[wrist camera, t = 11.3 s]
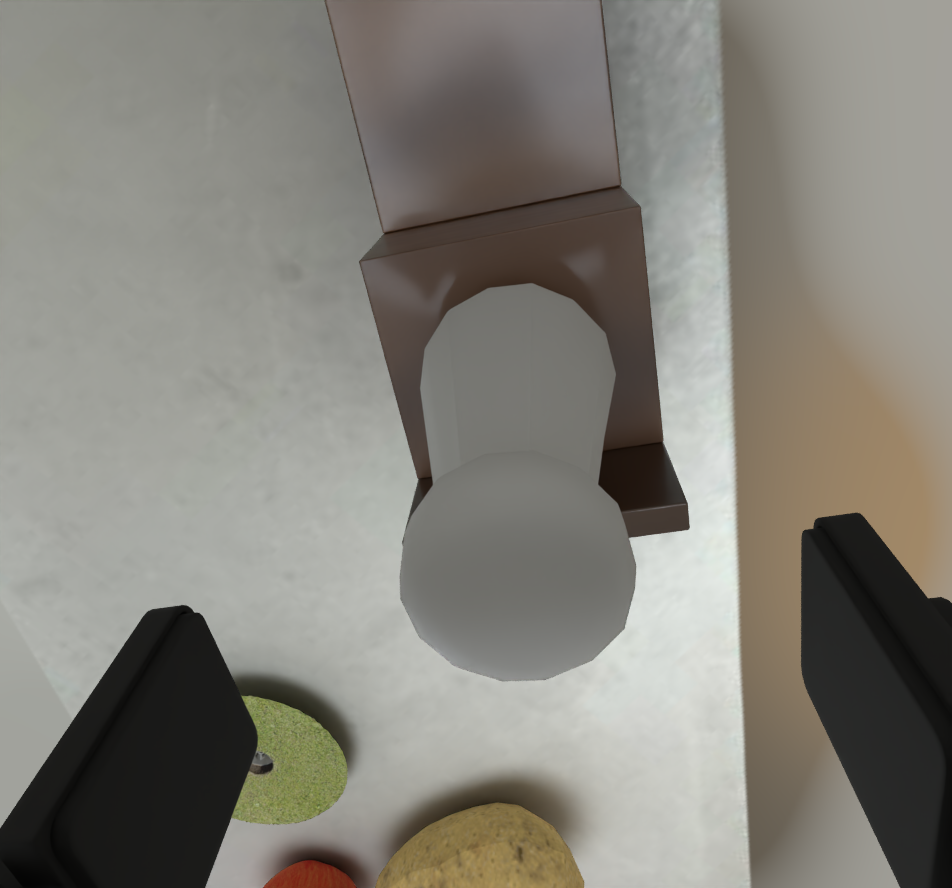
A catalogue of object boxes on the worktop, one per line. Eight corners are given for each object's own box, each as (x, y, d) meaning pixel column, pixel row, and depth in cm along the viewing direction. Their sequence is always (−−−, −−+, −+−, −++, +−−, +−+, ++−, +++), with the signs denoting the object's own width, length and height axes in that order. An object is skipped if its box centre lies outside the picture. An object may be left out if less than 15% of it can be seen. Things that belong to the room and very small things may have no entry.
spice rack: (349, -1, 27) (223, -63, 16) (581, -59, 26) (630, -172, 14) (446, 405, 35) (408, 568, 23) (631, 374, 33) (690, 530, 22)
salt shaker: (404, 297, 23) (289, 512, 11) (579, 240, 22) (645, 415, 10) (464, 452, 25) (418, 760, 14) (623, 408, 24) (718, 702, 13)
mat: (142, 698, 45) (126, 723, 43) (300, 652, 42) (291, 677, 40) (235, 813, 49) (224, 840, 47) (383, 778, 47) (377, 805, 45)
